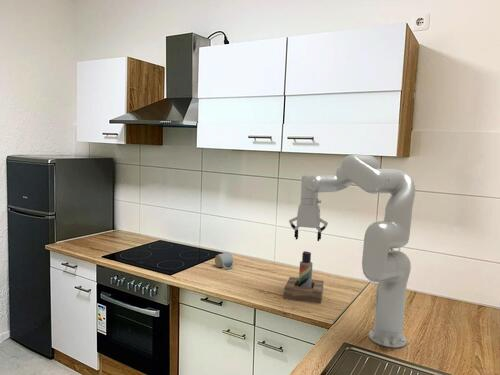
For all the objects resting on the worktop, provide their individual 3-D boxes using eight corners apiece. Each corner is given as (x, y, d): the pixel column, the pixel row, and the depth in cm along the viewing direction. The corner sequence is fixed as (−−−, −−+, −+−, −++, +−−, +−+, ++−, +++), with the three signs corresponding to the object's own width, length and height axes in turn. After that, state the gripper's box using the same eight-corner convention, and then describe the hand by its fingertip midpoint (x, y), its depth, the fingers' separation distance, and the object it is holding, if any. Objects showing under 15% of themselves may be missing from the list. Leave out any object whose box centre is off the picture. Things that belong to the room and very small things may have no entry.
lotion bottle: (302, 291, 178) (304, 249, 176) (313, 294, 175) (315, 252, 173) (295, 294, 174) (298, 251, 172) (306, 298, 170) (309, 254, 168)
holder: (320, 303, 165) (321, 292, 164) (283, 298, 169) (284, 287, 168) (323, 291, 180) (323, 280, 180) (289, 286, 184) (289, 276, 184)
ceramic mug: (213, 265, 213) (214, 252, 213) (225, 263, 219) (226, 250, 218) (224, 271, 205) (225, 257, 204) (236, 268, 210) (237, 255, 210)
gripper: (329, 202, 172) (327, 239, 173) (291, 200, 176) (289, 236, 178) (328, 204, 165) (326, 243, 166) (288, 201, 169) (287, 239, 170)
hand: (307, 239), depth 172 cm, fingers open, 9 cm apart
